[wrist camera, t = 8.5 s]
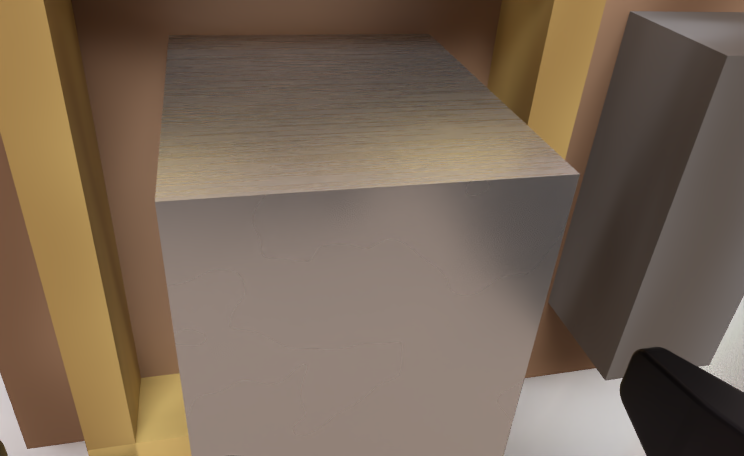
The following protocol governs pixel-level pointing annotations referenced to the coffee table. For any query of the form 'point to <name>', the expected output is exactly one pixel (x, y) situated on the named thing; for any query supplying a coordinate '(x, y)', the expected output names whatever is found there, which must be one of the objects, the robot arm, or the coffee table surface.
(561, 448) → the coffee table surface
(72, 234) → the chassis
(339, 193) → the brushed metal block
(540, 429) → the coffee table surface
